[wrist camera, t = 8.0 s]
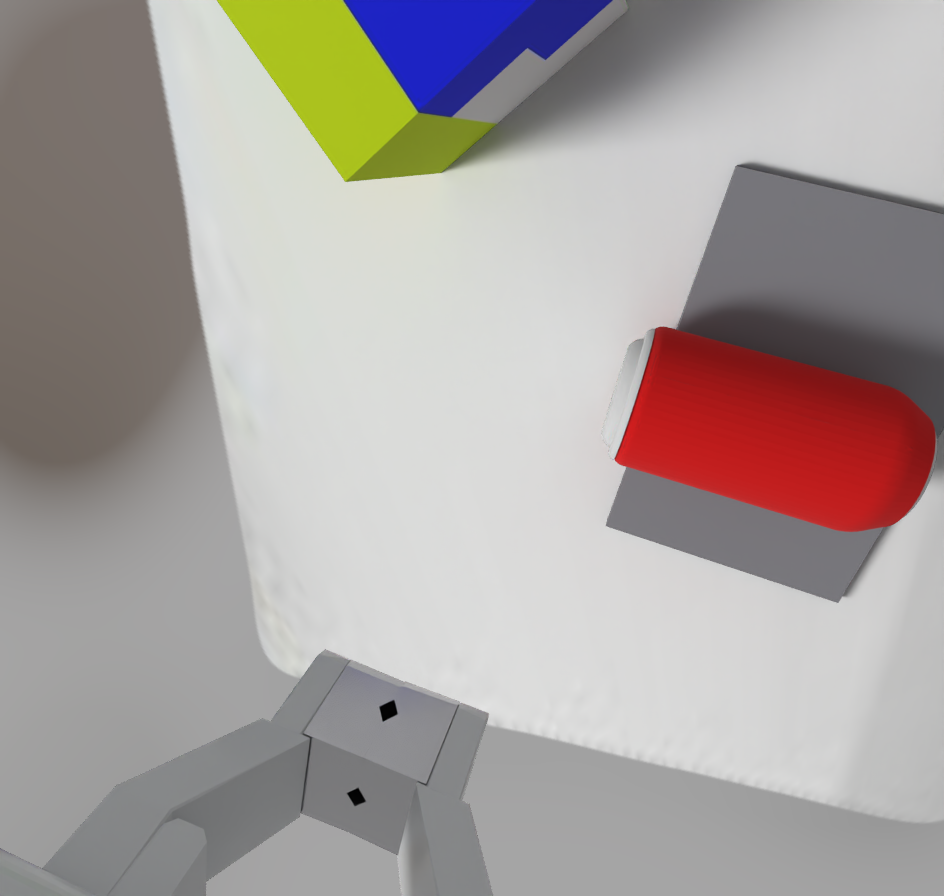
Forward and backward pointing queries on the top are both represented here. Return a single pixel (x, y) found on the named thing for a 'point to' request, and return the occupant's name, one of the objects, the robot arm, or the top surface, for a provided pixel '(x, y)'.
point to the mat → (803, 353)
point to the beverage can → (769, 431)
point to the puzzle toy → (412, 69)
